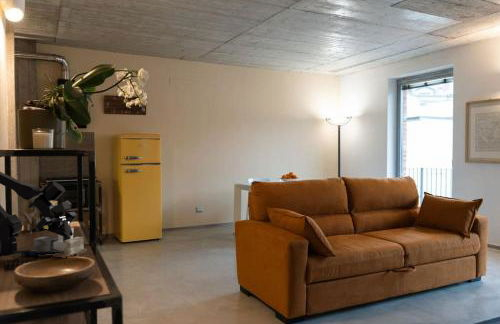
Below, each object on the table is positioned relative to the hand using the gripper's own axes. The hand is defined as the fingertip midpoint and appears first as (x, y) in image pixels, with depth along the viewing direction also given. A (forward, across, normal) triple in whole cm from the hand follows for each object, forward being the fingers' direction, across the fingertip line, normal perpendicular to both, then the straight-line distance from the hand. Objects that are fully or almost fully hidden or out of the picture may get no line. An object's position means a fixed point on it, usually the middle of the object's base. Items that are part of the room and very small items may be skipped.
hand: (69, 236), depth 169 cm
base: (0, 0, +10) cm, 10 cm away
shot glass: (-6, +18, +17) cm, 26 cm away
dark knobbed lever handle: (0, 0, +7) cm, 7 cm away
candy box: (-31, +49, +42) cm, 71 cm away
